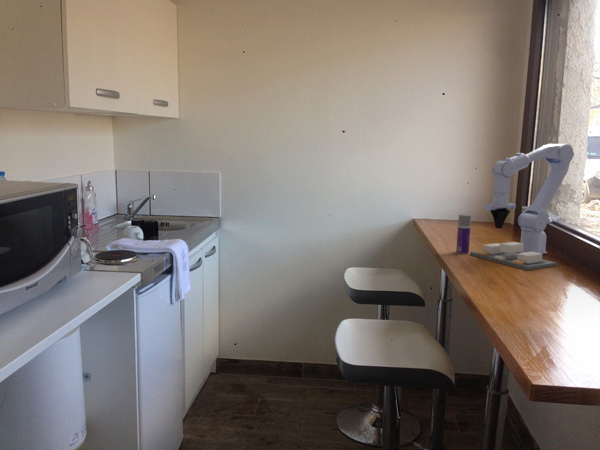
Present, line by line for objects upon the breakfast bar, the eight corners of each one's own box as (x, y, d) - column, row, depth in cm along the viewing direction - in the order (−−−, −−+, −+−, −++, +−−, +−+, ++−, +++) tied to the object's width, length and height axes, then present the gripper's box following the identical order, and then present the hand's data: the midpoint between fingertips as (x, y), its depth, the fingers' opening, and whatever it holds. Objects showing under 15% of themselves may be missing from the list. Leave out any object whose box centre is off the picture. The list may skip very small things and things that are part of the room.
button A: (495, 250, 206) (496, 243, 206) (505, 252, 202) (505, 245, 202) (482, 252, 203) (482, 244, 202) (491, 254, 199) (491, 247, 198)
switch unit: (497, 251, 211) (497, 246, 211) (556, 265, 188) (556, 260, 188) (470, 255, 204) (470, 249, 203) (527, 270, 181) (528, 264, 181)
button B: (513, 249, 199) (514, 241, 198) (523, 251, 195) (524, 243, 195) (499, 250, 195) (500, 243, 195) (509, 253, 192) (509, 245, 191)
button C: (531, 258, 192) (531, 251, 192) (541, 261, 189) (542, 253, 188) (517, 261, 189) (517, 253, 188) (527, 263, 185) (528, 255, 185)
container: (469, 254, 204) (472, 216, 202) (456, 253, 205) (459, 215, 203) (468, 252, 209) (470, 214, 207) (455, 251, 210) (458, 213, 207)
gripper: (506, 191, 208) (503, 225, 210) (479, 192, 201) (477, 227, 203) (521, 193, 202) (518, 228, 204) (494, 194, 195) (491, 230, 197)
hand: (498, 228), depth 203 cm, fingers closed
